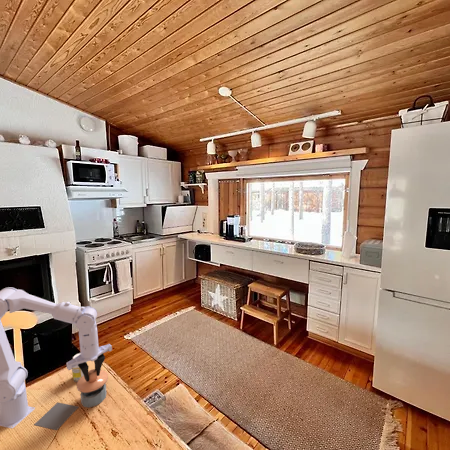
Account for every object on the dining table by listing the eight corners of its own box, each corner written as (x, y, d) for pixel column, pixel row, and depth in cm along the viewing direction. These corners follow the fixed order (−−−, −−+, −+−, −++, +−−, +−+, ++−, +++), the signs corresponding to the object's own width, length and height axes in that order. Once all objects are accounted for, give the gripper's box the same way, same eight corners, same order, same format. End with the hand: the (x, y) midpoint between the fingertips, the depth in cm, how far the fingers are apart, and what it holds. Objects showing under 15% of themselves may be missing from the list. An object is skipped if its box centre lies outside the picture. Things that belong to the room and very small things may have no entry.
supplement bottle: (86, 371, 108) (84, 350, 106) (90, 378, 104) (87, 356, 102) (71, 378, 104) (69, 355, 103) (74, 385, 100) (72, 362, 99)
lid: (70, 390, 88) (69, 380, 88) (90, 370, 98) (89, 361, 98) (95, 394, 86) (94, 384, 86) (113, 373, 96) (113, 364, 96)
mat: (34, 426, 83) (33, 424, 83) (57, 403, 91) (57, 402, 91) (57, 431, 81) (56, 430, 81) (79, 408, 89) (78, 406, 89)
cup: (76, 406, 90) (75, 396, 90) (92, 389, 98) (91, 379, 97) (96, 410, 89) (95, 399, 88) (111, 392, 96) (110, 382, 96)
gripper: (69, 357, 82) (73, 394, 84) (114, 337, 93) (117, 371, 95) (63, 348, 87) (66, 384, 89) (106, 330, 98) (108, 363, 99)
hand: (92, 377), depth 92 cm, fingers closed on lid, 3 cm apart
